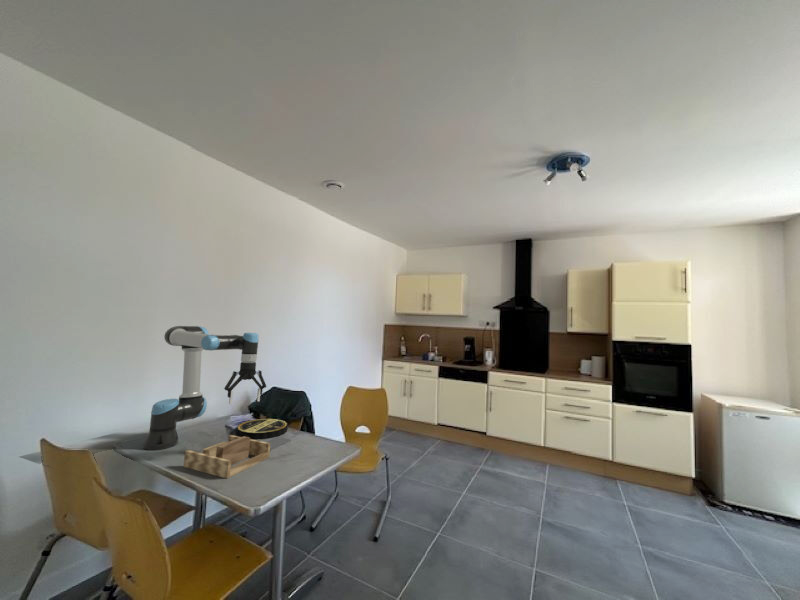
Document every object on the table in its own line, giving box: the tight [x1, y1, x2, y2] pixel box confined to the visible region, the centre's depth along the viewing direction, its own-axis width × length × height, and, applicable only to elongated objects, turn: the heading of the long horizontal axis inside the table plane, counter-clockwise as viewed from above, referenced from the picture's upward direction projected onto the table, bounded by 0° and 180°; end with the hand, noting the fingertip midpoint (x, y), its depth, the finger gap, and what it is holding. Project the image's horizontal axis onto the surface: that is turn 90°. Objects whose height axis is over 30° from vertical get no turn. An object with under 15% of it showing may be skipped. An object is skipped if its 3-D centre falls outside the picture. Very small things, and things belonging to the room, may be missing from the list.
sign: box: [235, 418, 289, 441], centre depth 200 cm, size 30×4×30 cm
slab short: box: [202, 441, 228, 456], centre depth 159 cm, size 4×12×3 cm, turn 159°
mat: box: [266, 436, 292, 451], centre depth 179 cm, size 10×20×1 cm, turn 160°
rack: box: [183, 434, 271, 479], centre depth 155 cm, size 27×26×7 cm
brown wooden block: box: [216, 436, 250, 466], centre depth 154 cm, size 4×16×10 cm, turn 160°
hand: (244, 402), depth 167 cm, fingers open, 13 cm apart
